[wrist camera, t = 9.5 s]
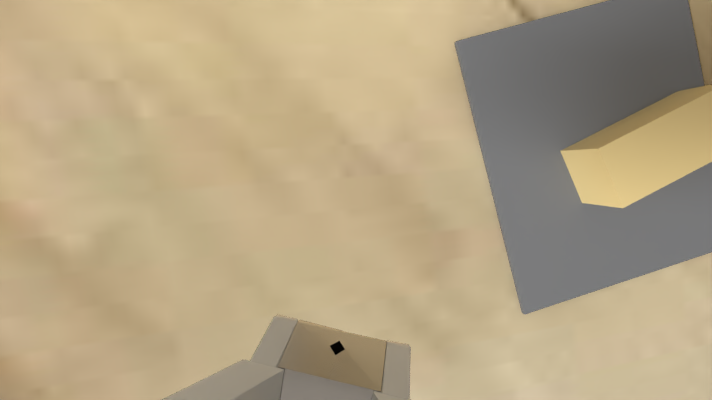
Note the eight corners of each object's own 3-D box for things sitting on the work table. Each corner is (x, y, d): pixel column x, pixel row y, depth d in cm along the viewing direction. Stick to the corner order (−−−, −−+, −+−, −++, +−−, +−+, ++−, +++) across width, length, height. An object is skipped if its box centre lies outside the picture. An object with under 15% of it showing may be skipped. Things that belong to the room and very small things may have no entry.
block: (598, 148, 33) (732, 80, 34) (560, 150, 38) (677, 91, 39) (623, 208, 34) (753, 139, 35) (582, 202, 39) (697, 142, 40)
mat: (454, 42, 37) (456, 41, 36) (679, -18, 39) (684, -20, 38) (522, 312, 39) (524, 314, 39) (729, 243, 41) (735, 244, 41)
